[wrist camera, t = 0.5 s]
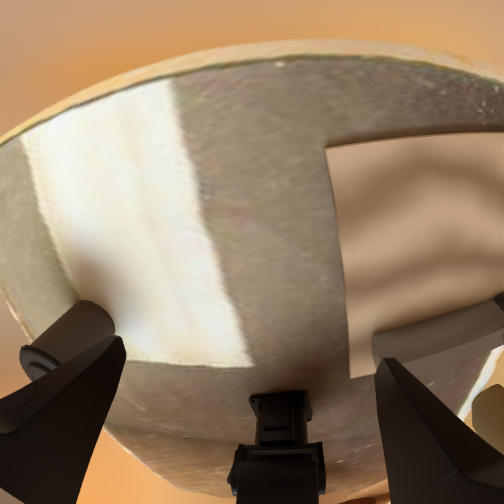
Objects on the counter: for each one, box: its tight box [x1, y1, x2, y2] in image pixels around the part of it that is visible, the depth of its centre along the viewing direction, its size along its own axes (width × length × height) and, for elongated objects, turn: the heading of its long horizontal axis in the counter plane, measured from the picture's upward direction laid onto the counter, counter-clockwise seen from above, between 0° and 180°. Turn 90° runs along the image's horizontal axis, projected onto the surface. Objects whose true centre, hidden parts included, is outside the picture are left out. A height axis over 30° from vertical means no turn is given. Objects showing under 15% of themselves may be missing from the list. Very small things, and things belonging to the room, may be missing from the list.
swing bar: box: [372, 292, 504, 377], centre depth 20 cm, size 17×4×4 cm, turn 104°
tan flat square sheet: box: [324, 132, 504, 378], centre depth 21 cm, size 22×22×1 cm
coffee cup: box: [19, 300, 115, 382], centre depth 23 cm, size 8×8×10 cm
